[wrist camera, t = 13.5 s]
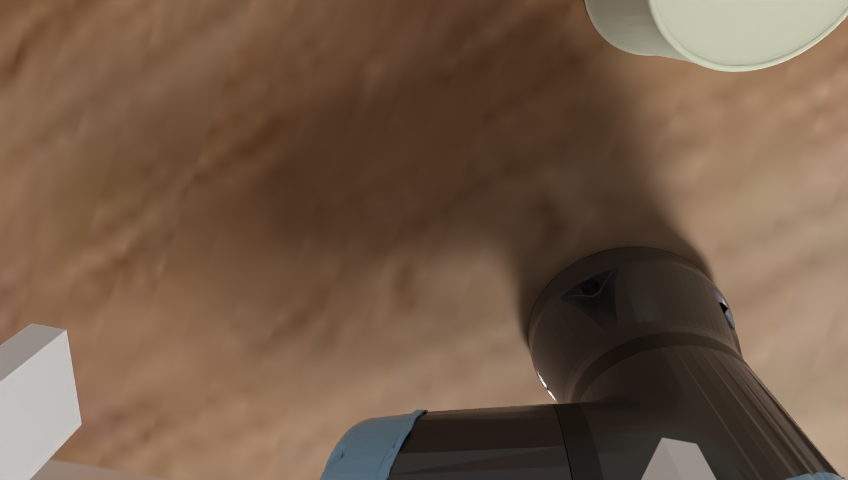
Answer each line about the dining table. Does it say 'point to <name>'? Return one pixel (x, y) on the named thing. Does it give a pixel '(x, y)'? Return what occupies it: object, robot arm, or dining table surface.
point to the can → (717, 29)
